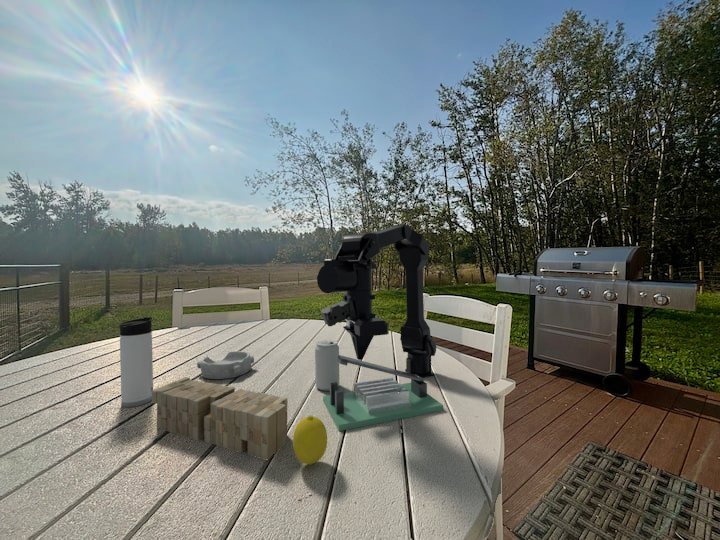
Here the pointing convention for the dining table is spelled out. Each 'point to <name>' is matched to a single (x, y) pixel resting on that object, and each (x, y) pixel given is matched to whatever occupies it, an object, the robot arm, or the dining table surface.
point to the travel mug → (136, 362)
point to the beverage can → (326, 364)
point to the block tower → (223, 416)
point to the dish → (226, 365)
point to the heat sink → (378, 395)
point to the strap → (377, 368)
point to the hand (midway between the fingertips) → (360, 359)
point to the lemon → (310, 440)
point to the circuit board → (359, 416)
